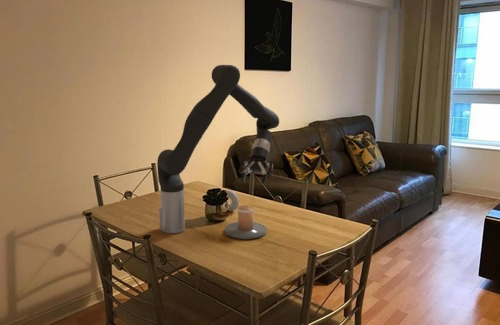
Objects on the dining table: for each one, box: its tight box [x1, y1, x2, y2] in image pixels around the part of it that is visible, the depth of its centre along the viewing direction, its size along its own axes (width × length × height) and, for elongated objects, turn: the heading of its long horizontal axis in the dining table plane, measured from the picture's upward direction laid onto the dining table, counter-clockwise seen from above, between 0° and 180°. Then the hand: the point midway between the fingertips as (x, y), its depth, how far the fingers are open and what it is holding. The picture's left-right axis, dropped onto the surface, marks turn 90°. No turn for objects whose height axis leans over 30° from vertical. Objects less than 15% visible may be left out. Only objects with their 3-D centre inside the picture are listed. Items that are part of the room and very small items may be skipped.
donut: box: [225, 189, 240, 212], centre depth 195 cm, size 10×4×10 cm, turn 50°
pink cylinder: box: [237, 204, 254, 231], centre depth 170 cm, size 6×6×9 cm
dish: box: [224, 221, 267, 240], centre depth 171 cm, size 17×17×1 cm
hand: (252, 182), depth 176 cm, fingers open, 8 cm apart
